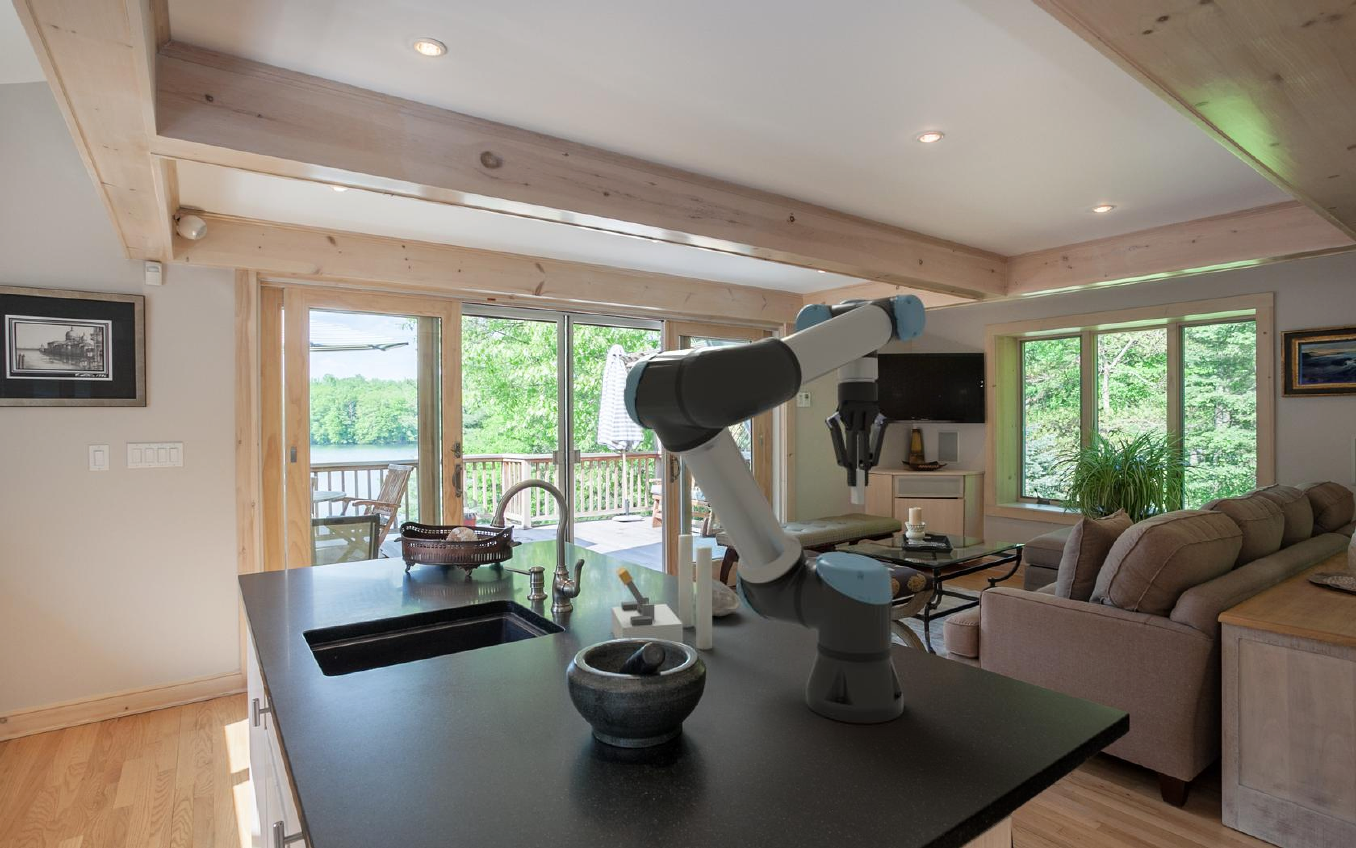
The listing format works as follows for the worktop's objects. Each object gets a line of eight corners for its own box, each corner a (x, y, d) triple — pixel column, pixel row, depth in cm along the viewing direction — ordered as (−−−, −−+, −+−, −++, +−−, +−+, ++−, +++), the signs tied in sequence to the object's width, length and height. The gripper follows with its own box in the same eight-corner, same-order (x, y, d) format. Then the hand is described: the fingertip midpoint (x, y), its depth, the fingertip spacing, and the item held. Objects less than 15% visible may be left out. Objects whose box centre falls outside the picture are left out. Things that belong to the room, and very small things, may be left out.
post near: (714, 648, 144) (713, 548, 144) (698, 650, 143) (698, 549, 143) (709, 644, 147) (709, 545, 147) (694, 645, 146) (694, 546, 146)
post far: (694, 627, 159) (694, 536, 159) (680, 628, 158) (680, 537, 158) (691, 623, 162) (690, 534, 162) (677, 624, 161) (677, 534, 161)
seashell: (728, 606, 159) (738, 557, 171) (680, 612, 164) (694, 564, 176) (743, 633, 164) (752, 584, 176) (697, 638, 168) (709, 590, 180)
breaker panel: (682, 648, 144) (682, 608, 144) (623, 653, 141) (622, 612, 141) (665, 626, 159) (665, 590, 159) (611, 630, 157) (611, 593, 157)
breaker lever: (654, 611, 149) (626, 569, 147) (645, 617, 148) (618, 575, 147) (650, 606, 152) (623, 566, 151) (642, 612, 152) (615, 571, 151)
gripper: (878, 382, 144) (878, 500, 144) (818, 382, 141) (818, 502, 141) (898, 380, 137) (898, 504, 137) (834, 379, 134) (835, 506, 134)
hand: (857, 503), depth 139 cm, fingers closed
